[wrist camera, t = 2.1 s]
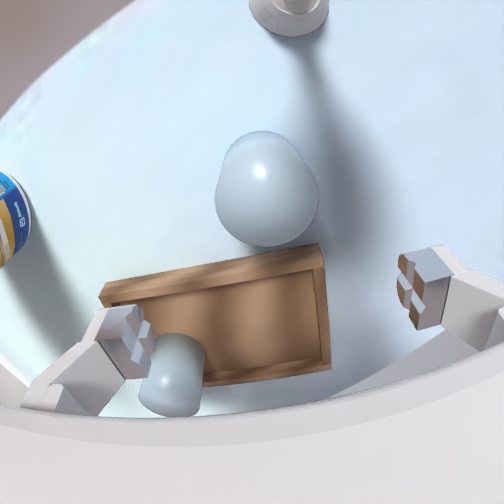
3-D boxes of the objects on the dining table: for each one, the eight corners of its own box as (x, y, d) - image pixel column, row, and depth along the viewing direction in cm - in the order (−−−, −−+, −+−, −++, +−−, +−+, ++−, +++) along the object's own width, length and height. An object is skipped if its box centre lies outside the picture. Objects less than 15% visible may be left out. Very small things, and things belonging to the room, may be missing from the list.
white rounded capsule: (195, 329, 27) (186, 384, 22) (212, 365, 30) (207, 416, 25) (143, 335, 28) (127, 386, 23) (164, 369, 30) (154, 418, 25)
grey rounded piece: (293, 124, 19) (311, 141, 14) (305, 196, 22) (323, 237, 17) (215, 140, 20) (203, 163, 15) (233, 210, 22) (228, 254, 17)
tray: (317, 243, 24) (323, 257, 22) (327, 353, 30) (331, 368, 29) (106, 282, 26) (98, 296, 24) (161, 375, 32) (157, 389, 30)
